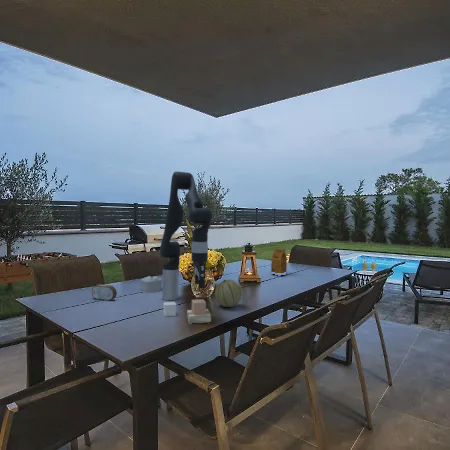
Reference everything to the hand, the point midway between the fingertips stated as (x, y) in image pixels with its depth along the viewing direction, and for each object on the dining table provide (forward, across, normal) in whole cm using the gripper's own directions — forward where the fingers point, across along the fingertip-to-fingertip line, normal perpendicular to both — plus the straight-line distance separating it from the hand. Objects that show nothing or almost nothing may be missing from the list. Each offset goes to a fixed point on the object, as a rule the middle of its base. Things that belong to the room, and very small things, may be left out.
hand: (199, 285), depth 151 cm
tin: (+17, +48, +45) cm, 68 cm away
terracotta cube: (+12, 0, 0) cm, 13 cm away
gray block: (+17, 0, 0) cm, 17 cm away
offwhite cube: (+16, +12, +12) cm, 23 cm away
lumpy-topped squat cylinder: (+17, +65, +17) cm, 69 cm away
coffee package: (+17, +96, -87) cm, 131 cm away
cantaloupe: (+16, +18, -20) cm, 32 cm away
